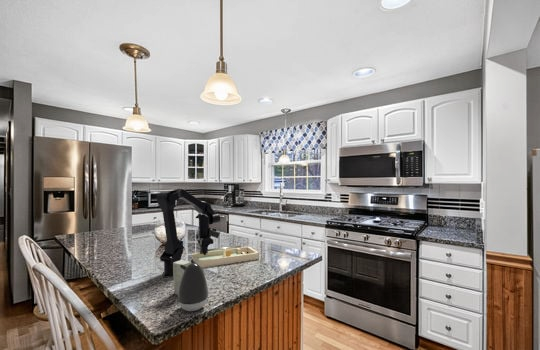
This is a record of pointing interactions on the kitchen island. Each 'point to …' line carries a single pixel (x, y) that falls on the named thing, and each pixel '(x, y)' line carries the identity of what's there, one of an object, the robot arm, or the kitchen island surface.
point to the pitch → (217, 259)
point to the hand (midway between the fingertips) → (204, 254)
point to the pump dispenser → (192, 288)
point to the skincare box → (178, 273)
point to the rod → (221, 249)
